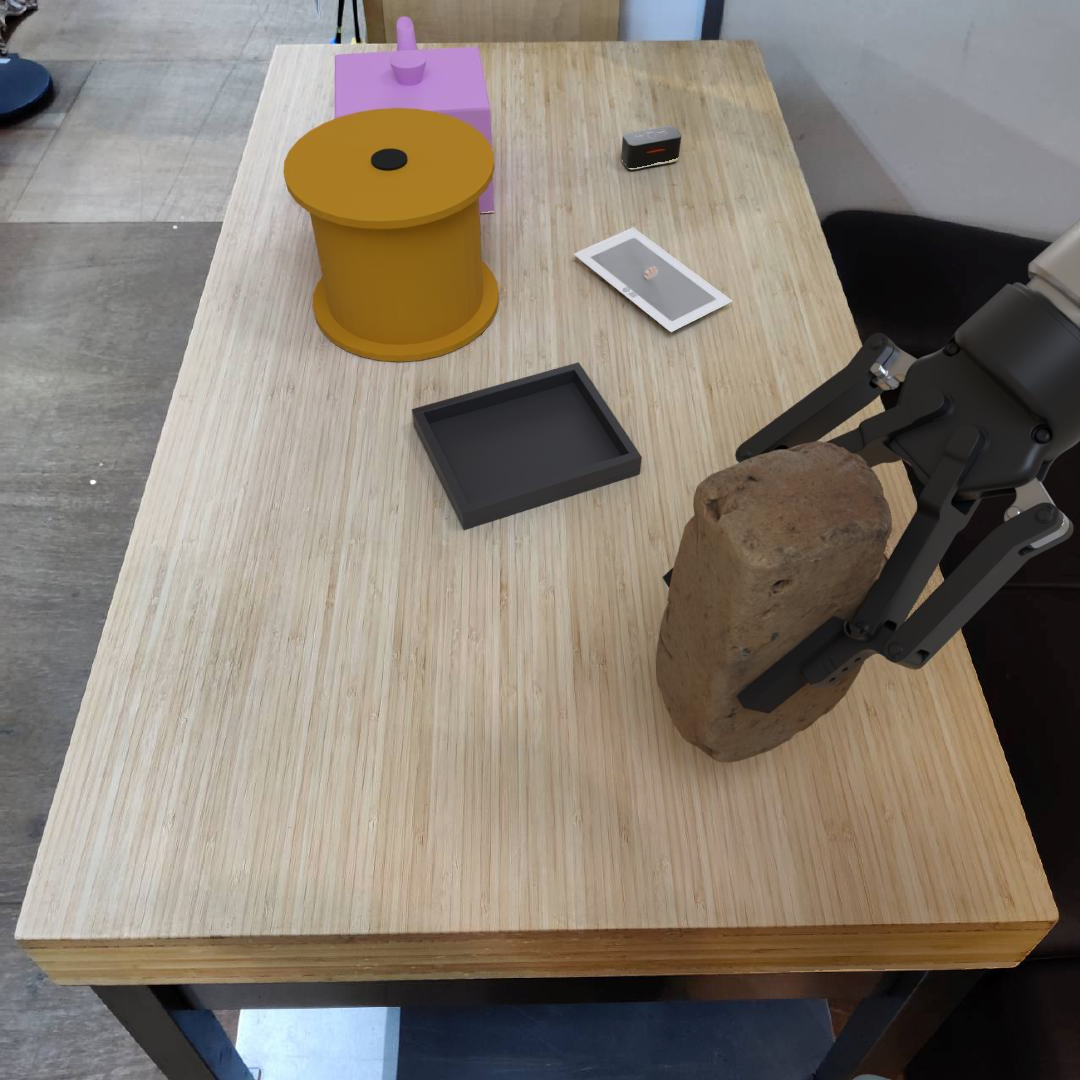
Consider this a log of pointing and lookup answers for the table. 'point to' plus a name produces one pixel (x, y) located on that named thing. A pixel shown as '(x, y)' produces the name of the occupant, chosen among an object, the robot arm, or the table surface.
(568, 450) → the dark shallow tray
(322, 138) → the spool
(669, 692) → the block
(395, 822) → the table surface
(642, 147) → the dark grey bluetooth speaker
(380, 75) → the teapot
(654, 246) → the touchpad
